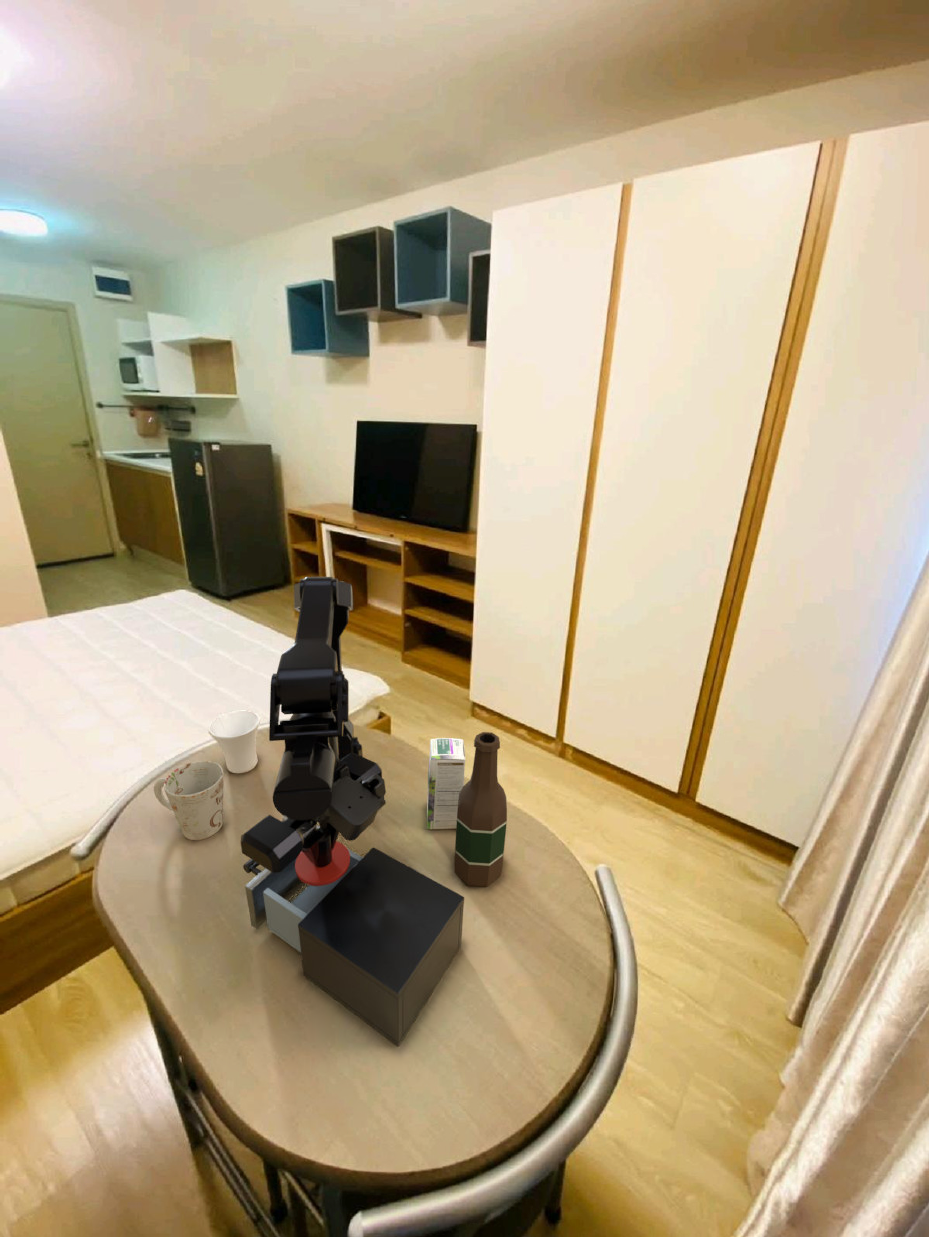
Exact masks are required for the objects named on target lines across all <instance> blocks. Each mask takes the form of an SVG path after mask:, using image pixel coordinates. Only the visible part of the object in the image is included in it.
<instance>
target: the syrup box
mask: <svg viewBox="0 0 929 1237" xmlns="http://www.w3.org/2000/svg"><path fill="white" fill-rule="evenodd" d="M465 748H466V747H465V742H464V739H462V738H454V737H453V738H452V737H437V738H431V739H429V756H428V773H427V798H426V799H427V803H426V806H427V807H426V827H427V830H453V829H455V830H456V825H457V810H458V800H459V793H460V792H461V790H462V788H463V786H464V785H465V772H466V749H465Z"/></svg>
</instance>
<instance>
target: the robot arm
mask: <svg viewBox="0 0 929 1237" xmlns="http://www.w3.org/2000/svg"><path fill="white" fill-rule="evenodd" d="M293 588H294V589H293V597H294V598H293V609H294V610H295V611H296V612H298V620H297V626H296V632H295V638H294V643H293V645H292V646H291V647H290V648H288V649H287V650H286V651H284V652H282V654H281V655H280V659H279V663H278V666H277V671H276V673H272V675H271V679H270V689H269V690H270V692H269V693H270V694H269V695H270V697H269V729H268V730H269V731H268V732H269V734H268V736H269V738H268V739H269V742H275V741H276V742H277V741H279V742H280V741H284V751H283V752H282V757H281V760H280V764H279V769H278V772H277V776H276V780H275V784H274V789H273V792H272V803H273V806H274V808H275V810H276V811H277V812H278V813H280V815H282V818H281V820H280V819H278V818H277V817H275V816H272V815H271V814H268V815H267V816H265V817H264V818H262V819H261V820H260V821H258V822H257V823H256V824H254V825H253V826H252V827H251V828H249V829H248V830H246V831H245V832H244V833H243V834H241V835H240V848H241V854H242V855H244V856H245V857H247V858H249V860H250V859H252V860H254V861H255V862H257V863H258V864H260V865H259V866H261V867H262V868H264V869H265V868H266V869H267V870H269V871H271V872H272V873H277V872H281V871H282V870H283V869H284V868H286V867H287V866H288V865H289V864H290V863H291V862H292V861H293V860H295V859H296V858H297V857H298V856H299V854H300V852H301V850H302V852H303V853H304V854H305V855H306V857H307V858H308V859H309V860H310V862H312V863H313V864H315V865H317V864H318V862H319V840H320V839H321V838H322V837H324V836H325V833H323V832H321V831H319V830H317V825H318V826H320V828H322V827H323V828H327V829H329V831H330V834H331V848H332V850H333V849H334V846H335V843H336V841H338V838H339V834H340V835H341V836H342V838H343V839H345V840H347V841H348V842H349V841H351V842H352V841H356V840H357V839H358V838H359V837H360V835H361V834H362V833H363V832H364V831H365V830H366V829H367V828H369V827H370V826H371V825H372V824H374V821H375V819H376V817H377V813H378V812H379V811H380V810H381V809H382V808H383V807H384V806H385V805H386V799H385V796H386V782H385V779H384V778H383V770H382V768H381V766H380V764H379V763H377V762H375V761H372V760H371V759H369V758H366V757H365V756H363V754H364V753H363V745H362V744H361V743H360V741H359V737H358V736H355V733H354V732H355V731H354V723H353V721H351V720H350V719H349V718H350V716H349V715H350V714H349V711H350V709H349V708H350V704H349V703H350V699H349V698H350V697H349V696H350V694H349V693H350V692H349V691H350V689H349V688H350V687H349V686H350V684H349V680H348V679H347V678H346V676H345V673H344V670H343V665H342V664H343V663H342V642H341V641H342V639H341V636H342V634H343V633H344V631H345V630H346V628H347V626H348V624H349V619H350V611H353V610H354V596H353V595H354V593H353V587H352V583H348V582H345V581H343V580H339V579H338V578H334V577H333V576H306V577H304V578H300V581H299V582H297V583H295V584H294V585H293ZM280 712H281V713H282V714H284V715H291V716H290V718H289V719H287V720H284V719H283V720H280Z"/></svg>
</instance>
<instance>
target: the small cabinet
mask: <svg viewBox="0 0 929 1237" xmlns="http://www.w3.org/2000/svg"><path fill="white" fill-rule="evenodd" d="M362 857H363V858H362V859H361V860H360V861H359V862H358V863H357V864H356V865H355V866H354V867H353V868H352V869H351V870H350V871H349V872H348V873H347V874H346V875H345V877H344V878H343V879H342V880H341V881H340V882H339V883H338V884H337V885H336V886H335V887H334V888H333V889H332V890H331V891H330V892H329V893H328V894H327V895H326V896H325V897H324V898H323V899H322V900H321V901H320V902H319V903H318V904H317V905H316V906H315V907H314V908H313V909H312V910H311V911H310V912H309V913H308V914H307V915H306V916H305V917H304V919H303V920H302V921H301V922H300V923H299V924H298V929H299V938H300V947H301V953H300V955H301V966H302V972H303V973H302V974H303V977H305V978H306V979H307V980H309V981H310V982H311V983H312V984H314V985H315V986H317V988H319V989H321V990H322V991H323V992H325V993H326V994H327V995H329V996H330V997H331V998H332V999H334V1000H335V1001H337V1002H338V1003H339V1004H341V1005H342V1006H343V1007H345V1008H346V1009H348V1010H349V1011H350V1012H351V1013H352V1014H354V1015H355V1016H357V1017H358V1018H359V1019H360V1020H362V1021H363V1022H365V1023H366V1024H367V1025H368V1026H370V1027H371V1028H373V1030H375V1031H377V1032H378V1033H379V1034H380V1035H381V1036H383V1037H384V1038H385V1039H386V1040H388V1041H390V1042H391V1043H392V1044H394V1045H395V1046H397V1047H398V1048H399V1047H400V1045H401V1044H402V1042H403V1041H404V1039H405V1037H406V1036H407V1034H408V1032H409V1031H410V1029H411V1028H412V1027H413V1025H414V1023H415V1022H416V1020H417V1018H418V1016H419V1015H420V1013H421V1012H422V1010H423V1008H424V1007H425V1005H426V1004H427V1002H428V1001H429V999H430V997H431V996H432V994H433V992H434V991H435V989H436V988H437V986H438V984H439V983H440V982H441V979H442V978H443V977H444V975H445V973H446V972H447V970H448V968H450V965H451V964H452V963H453V960H454V959H455V957H456V956H457V954H458V953H459V951H460V949H461V948H462V938H463V937H462V936H463V923H464V921H463V920H464V908H465V906H464V905H465V897H464V896H463V895H461V894H460V893H457V892H455V891H454V890H452V889H451V888H448V887H446V886H445V885H443V884H441V883H440V882H438V881H436V880H434V879H432V878H430V877H428V876H427V875H425V874H423V873H421V872H420V871H417V870H416V869H414V868H413V867H410V866H408V865H407V864H405V863H403V862H401V861H400V860H397V859H395V858H394V857H392V856H391V855H388V854H387V853H385V852H383V851H381V850H379V849H377V848H376V847H374V846H373V847H371V849H369V851H368V852H367V853H366V854H364V855H363V856H362Z"/></svg>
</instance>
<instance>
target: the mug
mask: <svg viewBox="0 0 929 1237" xmlns="http://www.w3.org/2000/svg"><path fill="white" fill-rule="evenodd" d="M224 778H225V776H224V770H223V768H222V766H221V765H220V764H219V763H218V762H214V761H211V760H198V761H193V762H190V763H186V764H183V765H181V766H179V767H177V768H176V769H174V770H172V772H170V773H169V774H168V776H166V777H161V778H159V779H157V780H156V782H155V783H154V786H153V793H154V796H155V798H156V799H157V801H158V802H159V803H160V805H162V806H163V807H165V808H166V809H167V810H169V811H171V812H173V814H174V816H175V818H176V821H177V823H178V825H179V828H180V831H181V834H182V835H183V836H184V838H186V839H187V840H190V841H201V840H205V839H208V838H209V837H212V836H214V835H215V834H216V833H218V832H219V831H220V830H221V828H222V827H223V825H224V784H225V783H224V782H225V781H224ZM163 789H164V792H165V795H166V797H165V796H164V795H163V793H162V790H163ZM166 798H167V799H166Z"/></svg>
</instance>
